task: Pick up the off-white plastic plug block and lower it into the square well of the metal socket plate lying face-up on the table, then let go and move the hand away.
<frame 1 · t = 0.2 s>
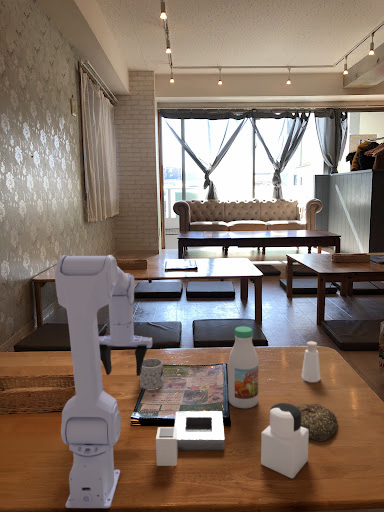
hand: (123, 373, 102), 10 cm above the table, tool pointing down, fingers open, 7 cm apart
mug: (149, 382, 119), on the table
plug: (167, 459, 85), on the table
socket: (198, 434, 93), on the table
medicine bottle: (284, 463, 83), on the table
milk bottle: (243, 402, 107), on the table
salt shaker: (310, 379, 119), on the table
bread roll: (310, 425, 97), on the table
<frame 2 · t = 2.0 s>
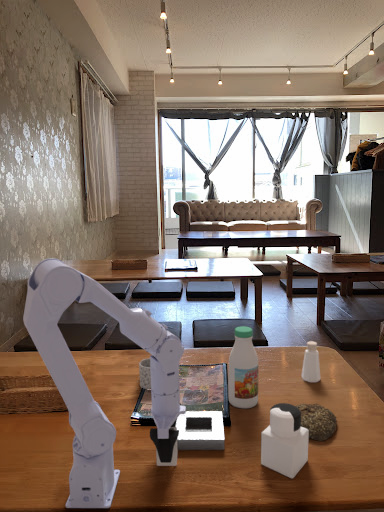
hand: (167, 449, 85), 2 cm above the table, tool pointing down, fingers open, 7 cm apart
nothing on the table moved.
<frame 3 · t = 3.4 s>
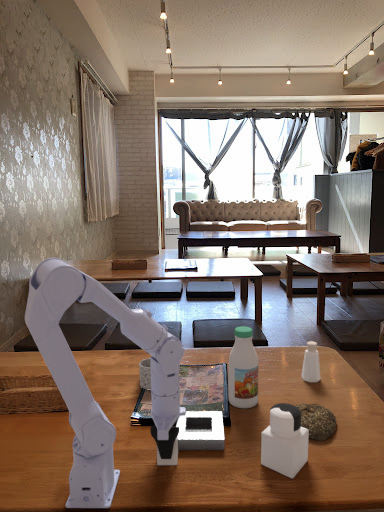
hand: (167, 450, 85), 2 cm above the table, tool pointing down, fingers closed on plug, 4 cm apart
plug: (168, 458, 85), on the table, touching gripper
everything else where it was.
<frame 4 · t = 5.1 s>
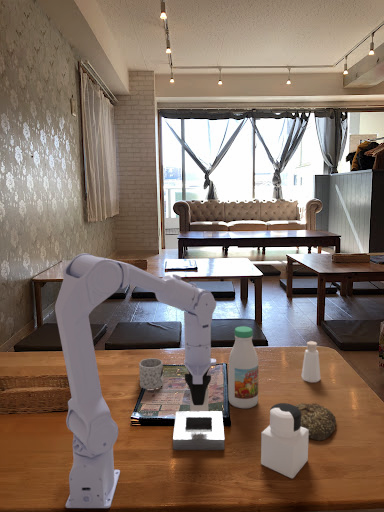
hand: (198, 399, 92), 9 cm above the table, tool pointing down, fingers closed on plug, 4 cm apart
plug: (199, 406, 92), point 7 cm above the table, touching gripper
everything else where it was.
when the fingers open (4 cm above the table, at t = 7.0 s): plug drops 1 cm, resting on socket.
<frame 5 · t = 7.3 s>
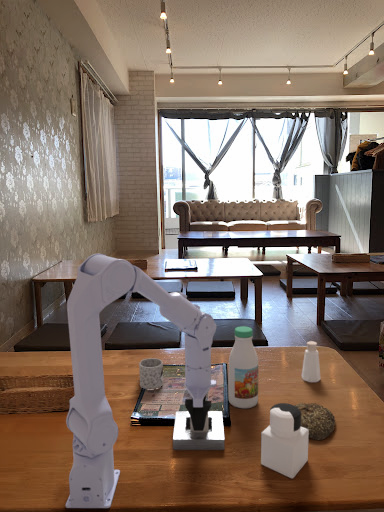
hand: (198, 420, 93), 4 cm above the table, tool pointing down, fingers open, 7 cm apart
plug: (199, 432, 93), point 1 cm above the table, touching socket
everything else where it was.
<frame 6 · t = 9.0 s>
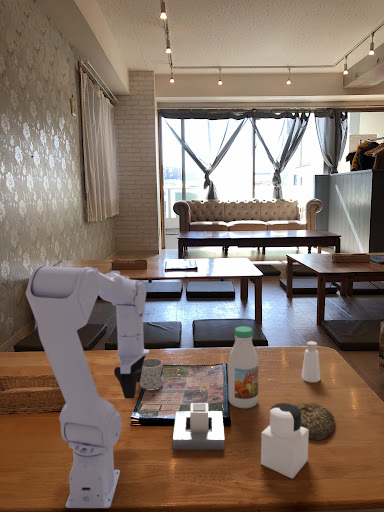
hand: (132, 389, 93), 10 cm above the table, tool pointing down, fingers open, 7 cm apart
nothing on the table moved.
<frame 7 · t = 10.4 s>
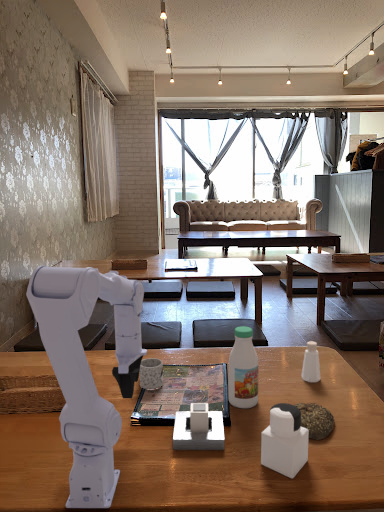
hand: (130, 389, 93), 10 cm above the table, tool pointing down, fingers open, 7 cm apart
nothing on the table moved.
at the end: plug 0.2 cm off-centre on the socket, point 0.6 cm above the socket's base; plug tilted 0°; the gripper is holding nothing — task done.
